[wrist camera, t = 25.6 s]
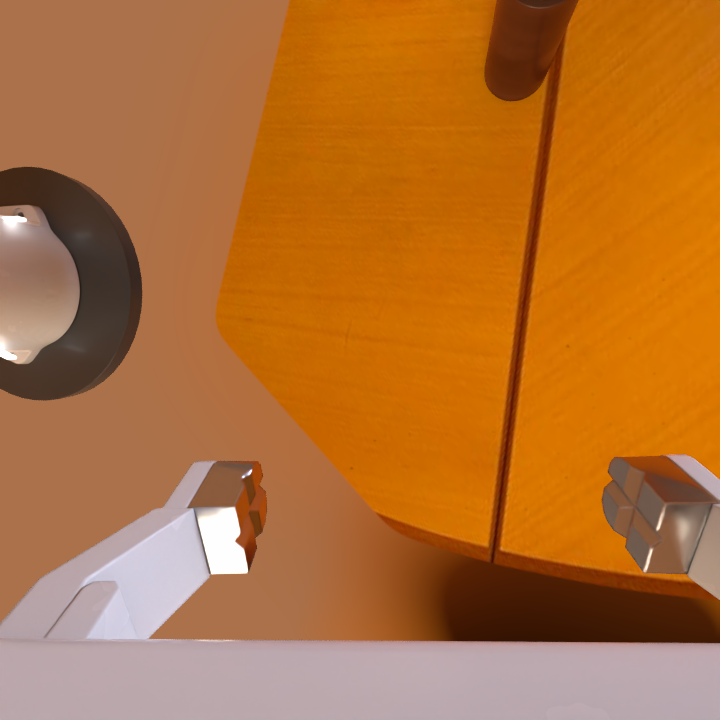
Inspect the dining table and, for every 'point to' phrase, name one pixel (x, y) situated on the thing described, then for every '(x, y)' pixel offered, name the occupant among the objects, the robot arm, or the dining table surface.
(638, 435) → the dining table surface
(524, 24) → the pepper mill
